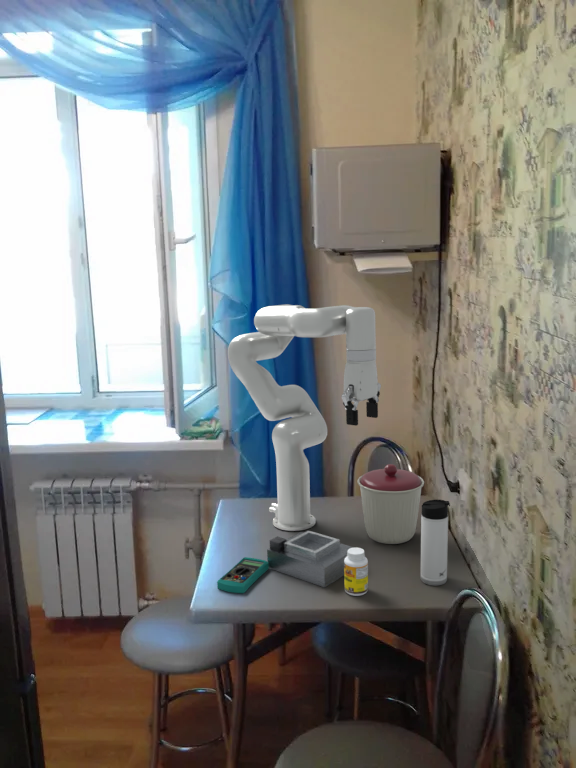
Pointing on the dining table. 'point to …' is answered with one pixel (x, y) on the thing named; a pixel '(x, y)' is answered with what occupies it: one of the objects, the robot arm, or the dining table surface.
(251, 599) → the dining table surface
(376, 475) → the canister
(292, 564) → the grey square socket fixture
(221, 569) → the dining table surface
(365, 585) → the supplement bottle
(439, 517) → the travel mug
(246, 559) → the digital multimeter
